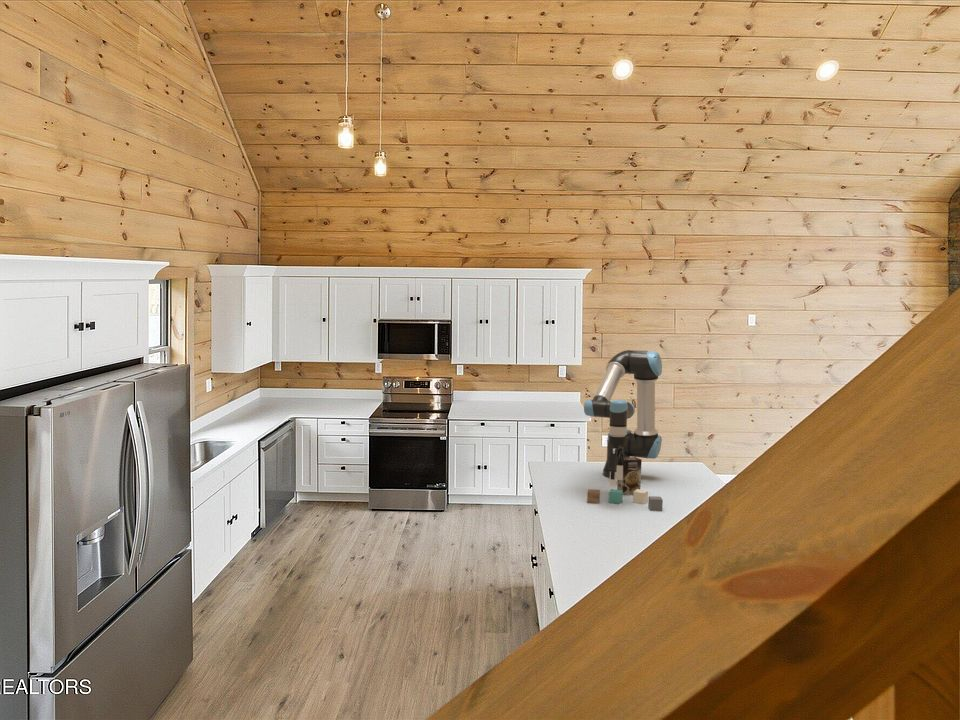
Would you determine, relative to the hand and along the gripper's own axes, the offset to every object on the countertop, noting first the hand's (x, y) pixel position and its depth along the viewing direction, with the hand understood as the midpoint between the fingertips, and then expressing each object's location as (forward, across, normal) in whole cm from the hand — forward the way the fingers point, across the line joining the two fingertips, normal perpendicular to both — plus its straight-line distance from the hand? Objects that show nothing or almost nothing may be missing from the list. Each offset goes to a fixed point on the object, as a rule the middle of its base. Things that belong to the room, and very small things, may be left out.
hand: (616, 483), depth 340 cm
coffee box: (+9, -19, +2) cm, 21 cm away
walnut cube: (+9, +4, -9) cm, 13 cm away
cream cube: (+8, -5, +10) cm, 14 cm away
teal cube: (+8, 0, 0) cm, 9 cm away
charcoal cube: (+9, +4, +18) cm, 20 cm away
